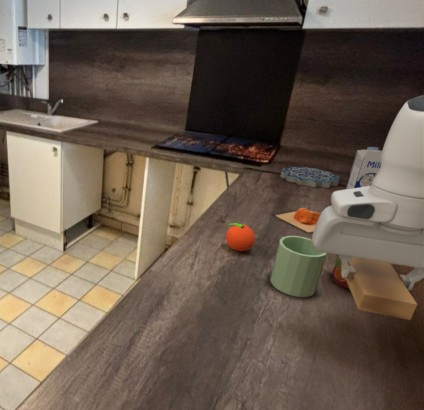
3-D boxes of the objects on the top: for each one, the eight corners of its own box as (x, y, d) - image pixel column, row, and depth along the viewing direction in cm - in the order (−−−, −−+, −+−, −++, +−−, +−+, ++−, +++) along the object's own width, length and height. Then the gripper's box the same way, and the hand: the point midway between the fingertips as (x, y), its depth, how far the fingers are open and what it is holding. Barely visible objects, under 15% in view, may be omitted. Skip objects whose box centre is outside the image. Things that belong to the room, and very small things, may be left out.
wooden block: (382, 274, 65) (388, 260, 63) (410, 320, 54) (417, 304, 52) (340, 266, 67) (344, 253, 66) (358, 309, 56) (364, 293, 55)
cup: (311, 278, 82) (323, 240, 78) (317, 301, 74) (331, 260, 70) (269, 270, 85) (278, 232, 81) (271, 291, 77) (281, 251, 73)
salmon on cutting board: (302, 210, 116) (306, 198, 115) (338, 226, 106) (342, 213, 104) (274, 215, 112) (277, 203, 111) (308, 232, 102) (312, 219, 100)
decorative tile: (272, 171, 154) (273, 165, 153) (319, 171, 153) (321, 166, 152) (295, 187, 135) (297, 181, 134) (349, 188, 134) (351, 182, 133)
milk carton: (347, 209, 117) (366, 149, 109) (340, 201, 123) (358, 144, 115) (373, 211, 115) (394, 151, 107) (364, 203, 121) (384, 145, 113)
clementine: (215, 247, 95) (219, 223, 92) (228, 238, 99) (233, 215, 96) (244, 259, 89) (249, 234, 86) (257, 250, 93) (262, 225, 90)
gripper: (481, 208, 53) (445, 285, 59) (321, 190, 60) (302, 260, 66) (507, 226, 48) (465, 309, 53) (328, 204, 55) (307, 279, 61)
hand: (374, 282), depth 60 cm, fingers closed on wooden block, 6 cm apart
